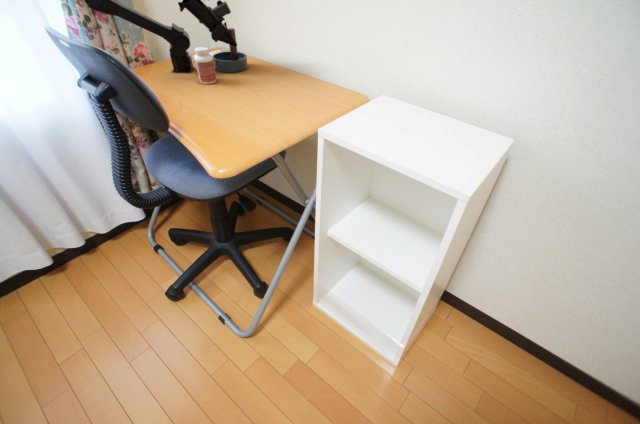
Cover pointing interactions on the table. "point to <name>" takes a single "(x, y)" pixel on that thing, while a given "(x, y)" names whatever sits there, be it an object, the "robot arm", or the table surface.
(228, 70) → the bowl
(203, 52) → the pill bottle
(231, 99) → the table surface
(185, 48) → the robot arm
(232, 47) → the stick
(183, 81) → the table surface
